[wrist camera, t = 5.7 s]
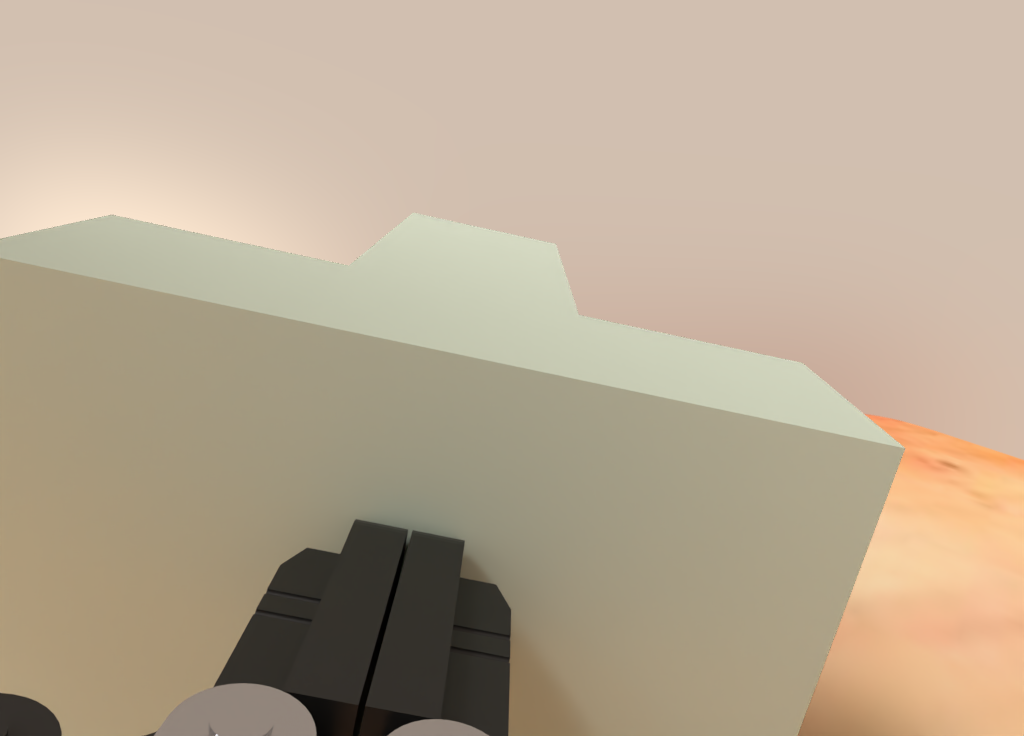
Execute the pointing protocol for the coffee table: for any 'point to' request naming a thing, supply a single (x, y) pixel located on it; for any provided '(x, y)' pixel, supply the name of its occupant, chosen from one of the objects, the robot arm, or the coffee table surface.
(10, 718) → the robot arm
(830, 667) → the coffee table surface
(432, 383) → the t block
